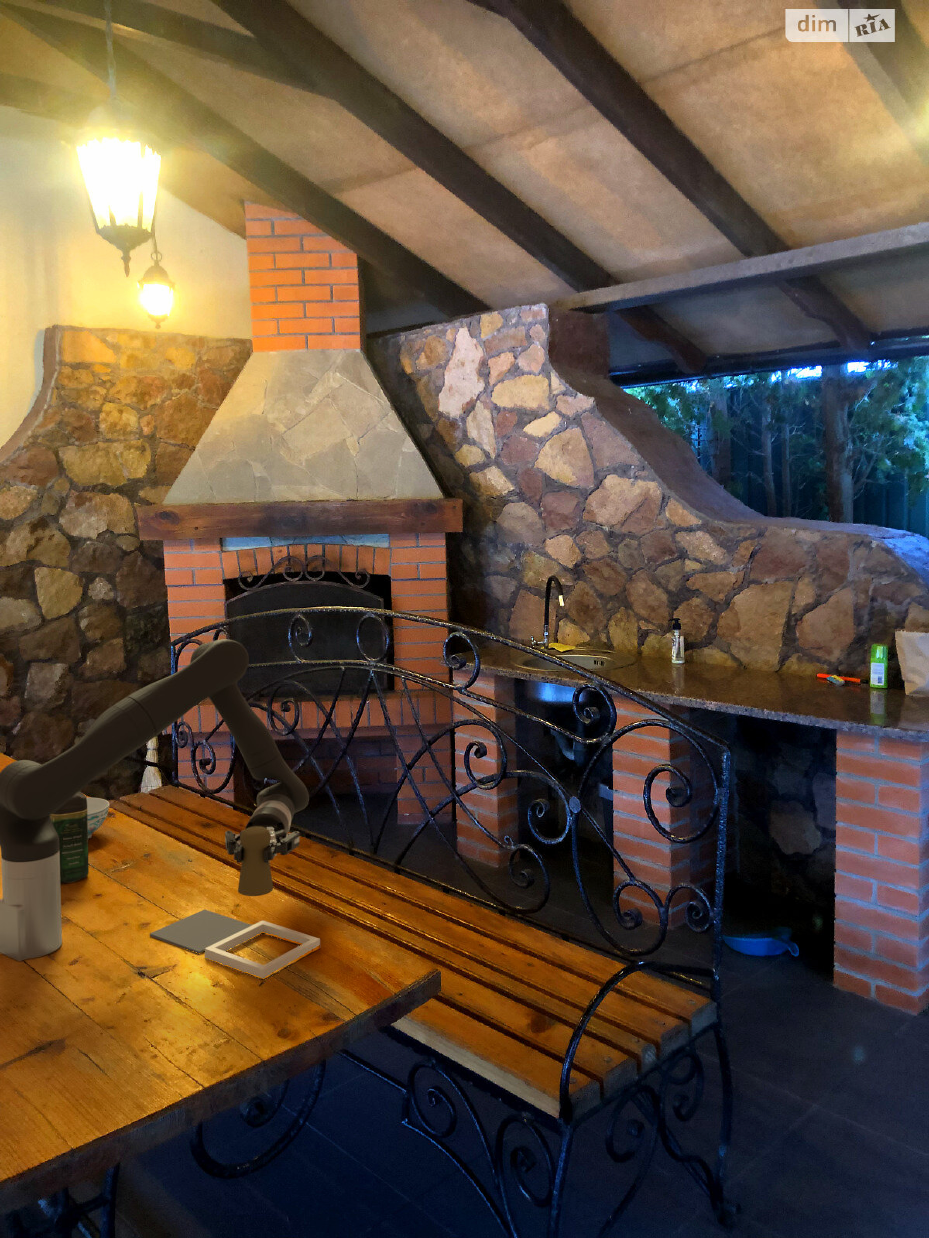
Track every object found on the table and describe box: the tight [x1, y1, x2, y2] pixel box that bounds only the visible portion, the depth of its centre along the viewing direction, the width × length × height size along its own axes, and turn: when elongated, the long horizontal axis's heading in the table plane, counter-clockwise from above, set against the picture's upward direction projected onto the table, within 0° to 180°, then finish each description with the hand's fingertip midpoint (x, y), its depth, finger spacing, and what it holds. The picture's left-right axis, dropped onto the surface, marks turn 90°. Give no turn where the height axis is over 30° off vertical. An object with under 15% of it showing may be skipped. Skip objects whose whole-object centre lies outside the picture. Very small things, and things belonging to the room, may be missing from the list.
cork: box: [237, 826, 274, 897], centre depth 161 cm, size 6×6×11 cm
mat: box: [149, 909, 253, 954], centre depth 170 cm, size 13×13×1 cm
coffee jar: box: [50, 791, 90, 884], centre depth 195 cm, size 10×8×19 cm
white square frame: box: [204, 920, 321, 978], centre depth 162 cm, size 14×14×2 cm
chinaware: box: [86, 796, 110, 840], centre depth 220 cm, size 15×15×8 cm
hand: (252, 857), depth 158 cm, fingers closed on cork, 4 cm apart
